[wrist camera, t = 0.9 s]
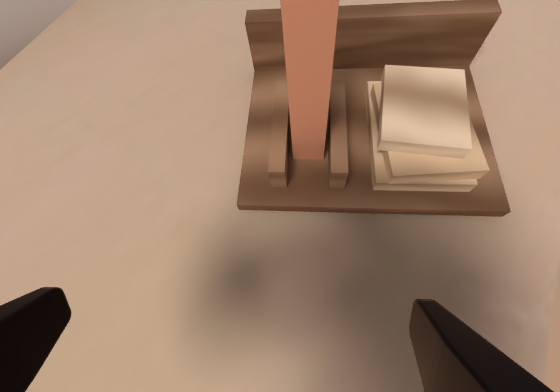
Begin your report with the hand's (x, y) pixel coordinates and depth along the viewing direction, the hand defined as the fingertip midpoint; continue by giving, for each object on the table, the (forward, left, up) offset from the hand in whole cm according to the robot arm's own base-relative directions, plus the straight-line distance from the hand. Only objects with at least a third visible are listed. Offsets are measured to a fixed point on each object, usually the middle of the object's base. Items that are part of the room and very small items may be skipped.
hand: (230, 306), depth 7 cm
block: (+11, -9, -13) cm, 19 cm away
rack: (+11, -14, -14) cm, 22 cm away
